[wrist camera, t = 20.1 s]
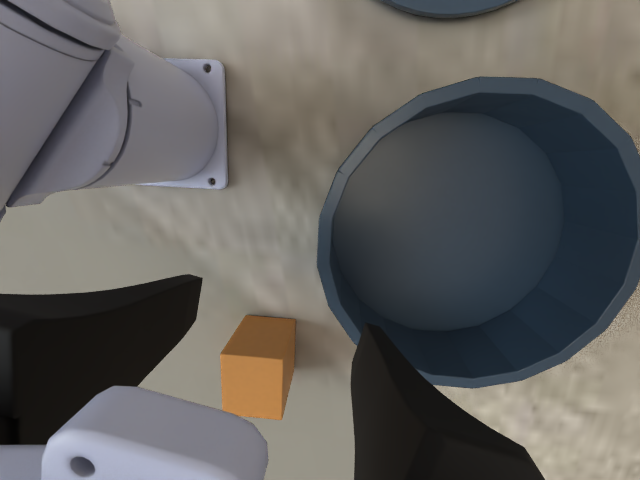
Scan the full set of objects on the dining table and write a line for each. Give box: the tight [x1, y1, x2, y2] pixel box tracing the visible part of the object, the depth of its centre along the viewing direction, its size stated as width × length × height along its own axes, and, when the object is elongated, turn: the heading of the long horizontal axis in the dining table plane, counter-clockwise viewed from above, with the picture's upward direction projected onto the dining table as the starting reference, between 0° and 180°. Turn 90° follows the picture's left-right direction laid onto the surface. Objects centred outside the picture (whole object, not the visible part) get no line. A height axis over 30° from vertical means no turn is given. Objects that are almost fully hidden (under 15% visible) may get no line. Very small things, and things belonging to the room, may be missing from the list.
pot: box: [317, 76, 640, 389], centre depth 18 cm, size 16×16×5 cm
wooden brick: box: [220, 315, 296, 420], centre depth 21 cm, size 4×5×5 cm
